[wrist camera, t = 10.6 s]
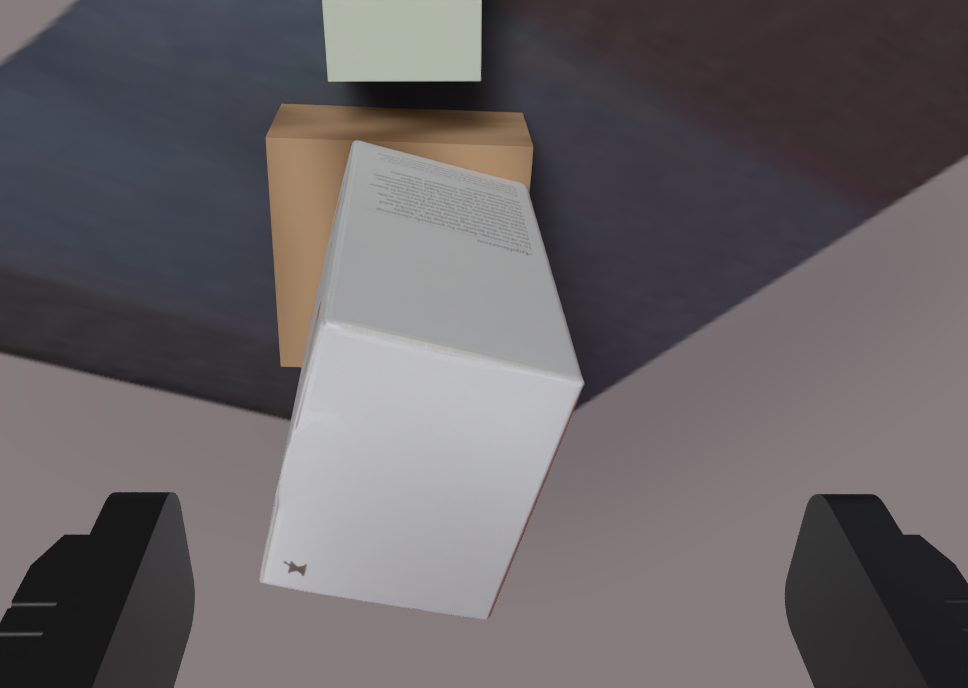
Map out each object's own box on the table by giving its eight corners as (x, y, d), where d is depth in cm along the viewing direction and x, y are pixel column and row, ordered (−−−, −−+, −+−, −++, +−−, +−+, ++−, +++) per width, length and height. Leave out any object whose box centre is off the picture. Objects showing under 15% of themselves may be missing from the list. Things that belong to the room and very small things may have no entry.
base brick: (522, 112, 35) (533, 146, 32) (506, 320, 39) (514, 370, 36) (281, 103, 34) (265, 137, 31) (293, 316, 39) (280, 366, 35)
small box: (468, 370, 36) (489, 629, 25) (306, 335, 35) (250, 589, 24) (533, 179, 32) (591, 382, 21) (353, 131, 31) (312, 320, 20)
